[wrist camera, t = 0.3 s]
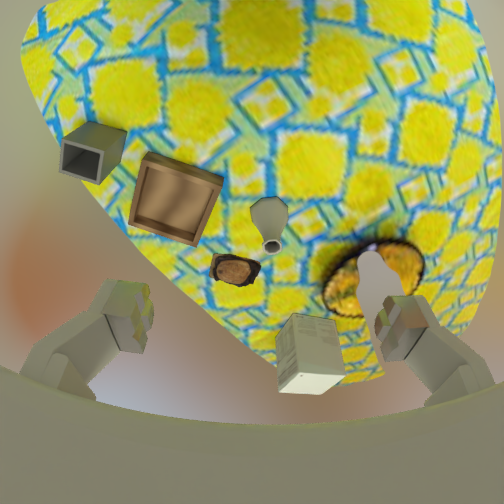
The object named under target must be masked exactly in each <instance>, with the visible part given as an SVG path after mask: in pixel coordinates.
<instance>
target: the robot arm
mask: <svg viewBox="0 0 504 504" xmlns="http://www.w3.org/2000/svg"><path fill="white" fill-rule="evenodd" d="M149 294H150V289H149V286H148V284H146V283H138V282H131V281H123V280H113V279H106V280H105V281H104V282H103V283H102V285H101V287H100V289H99V291H98V292H97V294H96V296H95V298H94V300H93V301H92V303H91V305H90V307H89V309H88V311H87V312H86V311H83V312H81V313H80V314H78V315H77V316H75V317H74V318H72V319H71V320H69V321H68V322H66V323H65V324H63V325H62V326H60V327H59V328H57V329H56V330H54V331H53V332H51V333H50V334H48V335H47V336H45V337H44V338H43V339H41V340H40V341H38V342H37V343H35V344H34V345H33V347H32V349H31V351H30V353H29V355H28V357H27V359H26V361H25V363H24V365H23V367H22V369H21V371H20V373H19V374H18V373H16V372H14V371H11V370H9V369H7V368H5V367H3V366H1V365H0V504H504V382H501V383H499V384H495V382H494V380H493V377H492V375H491V373H490V371H489V368H488V366H487V364H486V362H485V360H484V359H483V358H482V357H481V356H480V355H478V354H477V353H476V352H475V351H474V350H472V349H471V348H470V347H469V346H468V345H466V344H465V343H464V342H463V341H461V340H460V339H459V338H458V337H456V336H455V335H454V334H453V333H451V332H450V331H449V330H448V329H446V328H445V327H444V326H440V324H439V322H438V321H437V319H436V317H435V315H434V313H433V311H432V309H431V308H430V306H429V304H428V302H427V300H426V299H425V297H424V296H422V295H411V296H387V297H386V298H385V300H384V302H383V307H384V309H382V310H381V311H380V312H379V313H378V314H377V317H376V319H375V325H374V327H375V334H376V336H377V338H378V339H379V340H380V341H381V342H382V344H381V346H380V348H381V351H382V354H383V357H384V360H385V362H388V361H401V360H404V362H405V363H406V364H407V366H408V367H409V368H410V369H411V370H412V371H413V372H414V373H415V374H416V375H417V377H418V378H419V379H420V380H421V381H422V382H423V383H424V385H425V386H426V387H427V388H428V389H429V390H430V391H431V392H432V395H431V396H430V397H429V398H428V399H427V400H426V401H425V403H424V406H425V407H423V408H418V409H414V410H410V411H405V412H400V413H395V414H389V415H384V416H378V417H371V418H364V419H357V420H348V421H338V422H327V423H312V424H287V425H259V424H258V425H257V424H233V423H219V422H207V421H198V420H189V419H182V418H174V417H167V416H161V415H155V414H150V413H144V412H140V411H135V410H130V409H126V408H121V407H117V406H113V405H109V404H105V403H101V402H98V401H96V396H95V394H94V393H93V392H92V390H91V389H90V388H89V386H88V385H87V384H88V383H89V382H90V380H92V379H93V378H94V377H95V376H96V375H97V374H98V373H99V372H100V371H101V370H102V369H103V368H104V367H105V366H106V365H107V364H108V363H109V362H111V361H112V360H113V359H114V358H115V357H116V356H117V355H118V354H119V353H120V351H125V352H132V353H139V354H143V352H144V349H145V346H146V342H147V339H148V338H147V335H146V332H147V331H148V330H150V329H151V326H152V323H153V316H154V307H153V303H152V301H151V300H150V299H149V298H148V297H149Z"/></svg>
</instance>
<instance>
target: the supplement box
mask: <svg viewBox="0 0 504 504" xmlns="http://www.w3.org/2000/svg"><path fill="white" fill-rule="evenodd" d="M276 356H277V375H278V392H284V393H301V394H319V395H320V394H322V393H323V392H325V391H326V390H327V389H329V388H330V387H332V386H333V385H334V384H336V383H337V382H338V381H340V380H341V379H342V378H344V377H345V376H346V373H345V368H344V363H343V358H342V353H341V348H340V343H339V338H338V333H337V328H336V323H335V320H330V319H324V318H318V317H312V316H307V315H301V314H295V313H293V314H292V316H291V317H290V319H289V320H288V321H287V323H286V324H285V325H284V327H283V328H282V329H281V331H280V332H279V334H278V335H277V336H276Z"/></svg>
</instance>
